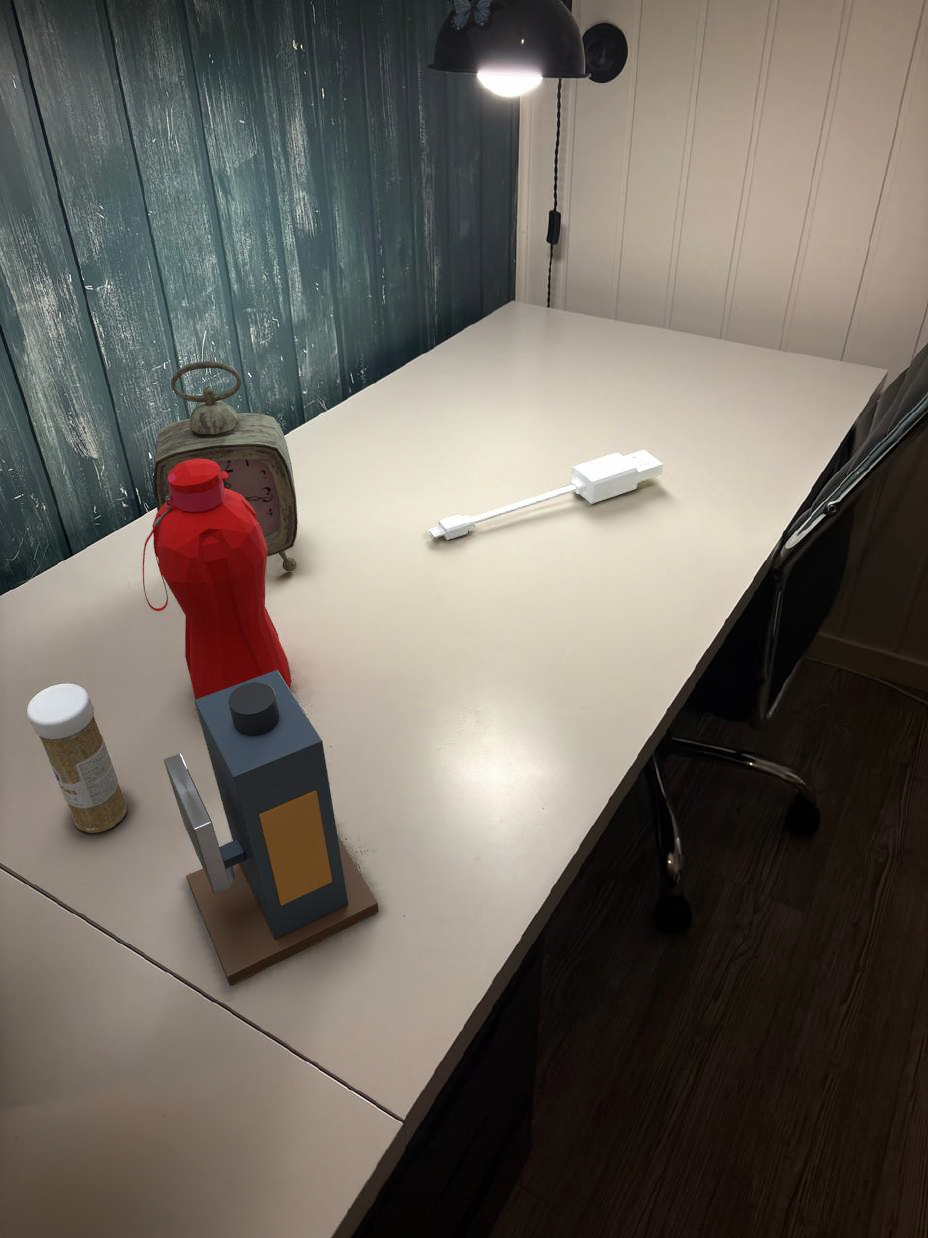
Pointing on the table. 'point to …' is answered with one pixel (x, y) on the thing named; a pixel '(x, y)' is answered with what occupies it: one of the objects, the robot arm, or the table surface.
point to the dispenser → (273, 832)
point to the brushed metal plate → (197, 823)
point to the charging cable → (572, 488)
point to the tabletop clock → (234, 458)
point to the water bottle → (216, 579)
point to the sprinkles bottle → (78, 756)
